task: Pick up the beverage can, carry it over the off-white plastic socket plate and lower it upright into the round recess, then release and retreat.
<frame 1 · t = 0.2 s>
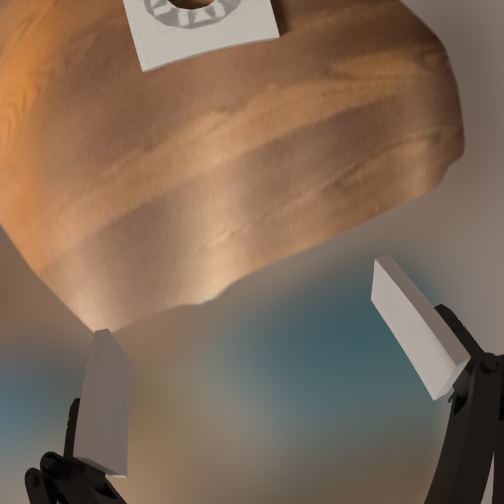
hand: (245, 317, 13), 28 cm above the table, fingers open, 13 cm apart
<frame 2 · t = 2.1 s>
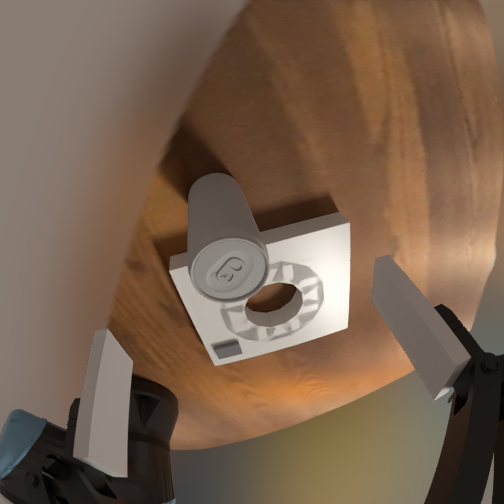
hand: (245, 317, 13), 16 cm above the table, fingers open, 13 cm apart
beverage can: (214, 194, 27), on the table
socket plate: (269, 291, 34), on the table
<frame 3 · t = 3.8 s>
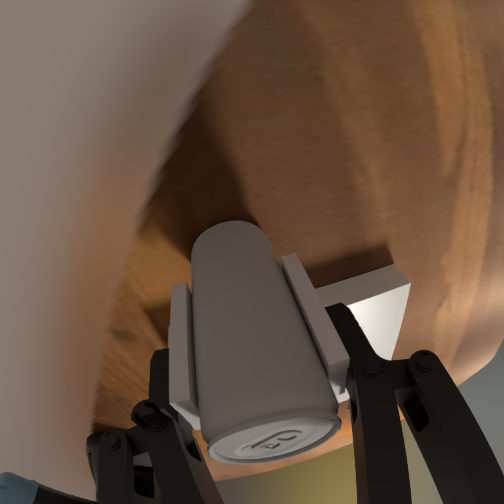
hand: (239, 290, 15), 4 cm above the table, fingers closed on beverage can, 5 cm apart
beverage can: (230, 249, 18), on the table, touching gripper
socket plate: (296, 357, 25), on the table
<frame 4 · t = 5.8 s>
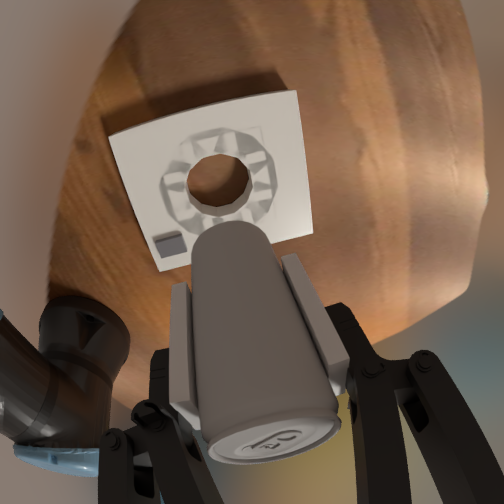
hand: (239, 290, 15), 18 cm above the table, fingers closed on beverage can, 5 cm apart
beverage can: (230, 249, 18), point 14 cm above the table, touching gripper
socket plate: (217, 178, 30), on the table
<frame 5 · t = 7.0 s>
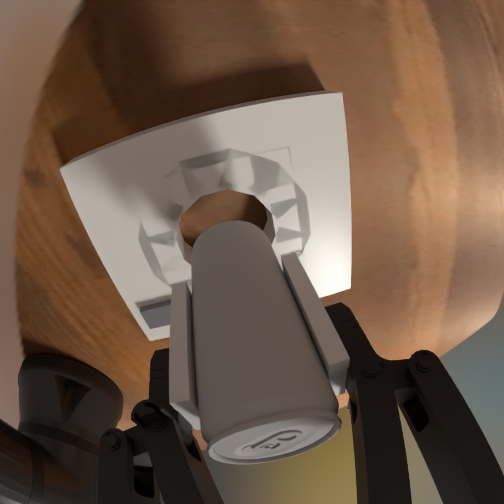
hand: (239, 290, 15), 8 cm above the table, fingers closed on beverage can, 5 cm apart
beverage can: (230, 249, 18), point 4 cm above the table, touching gripper
socket plate: (223, 220, 22), on the table
when the fingers open (4 cm above the table, at t = 8.0 s): beverage can stays where it is, resting in socket plate.
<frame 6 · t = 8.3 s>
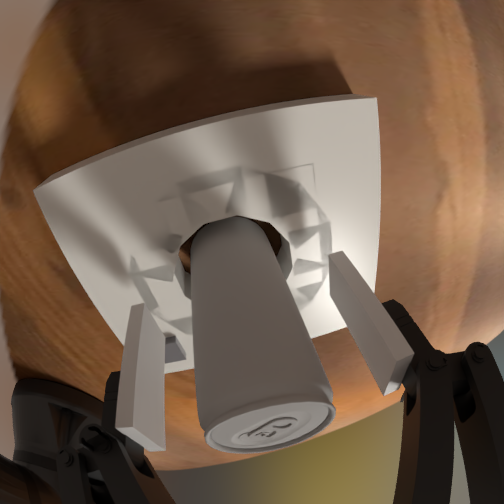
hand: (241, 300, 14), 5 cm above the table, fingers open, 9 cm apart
beverage can: (228, 245, 19), resting in socket plate
socket plate: (229, 246, 18), on the table
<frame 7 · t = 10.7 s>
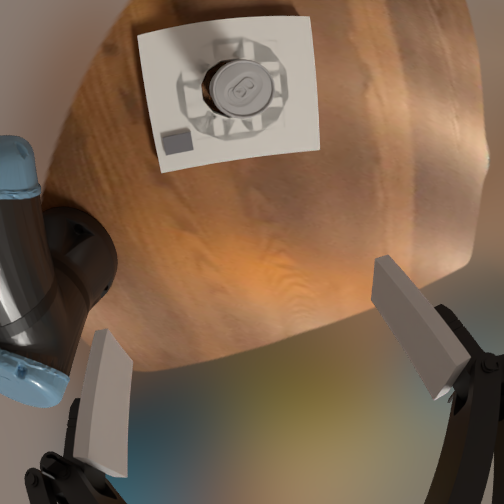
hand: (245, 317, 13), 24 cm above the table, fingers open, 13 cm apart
beverage can: (230, 87, 29), resting in socket plate
socket plate: (231, 87, 29), on the table
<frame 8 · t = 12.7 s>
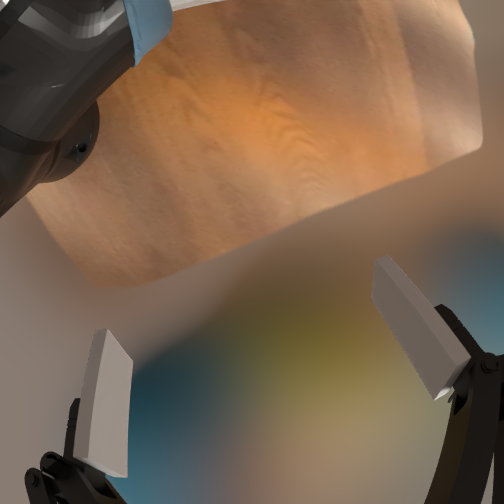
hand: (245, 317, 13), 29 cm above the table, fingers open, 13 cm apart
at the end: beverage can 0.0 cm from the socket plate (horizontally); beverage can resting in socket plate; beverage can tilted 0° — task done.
